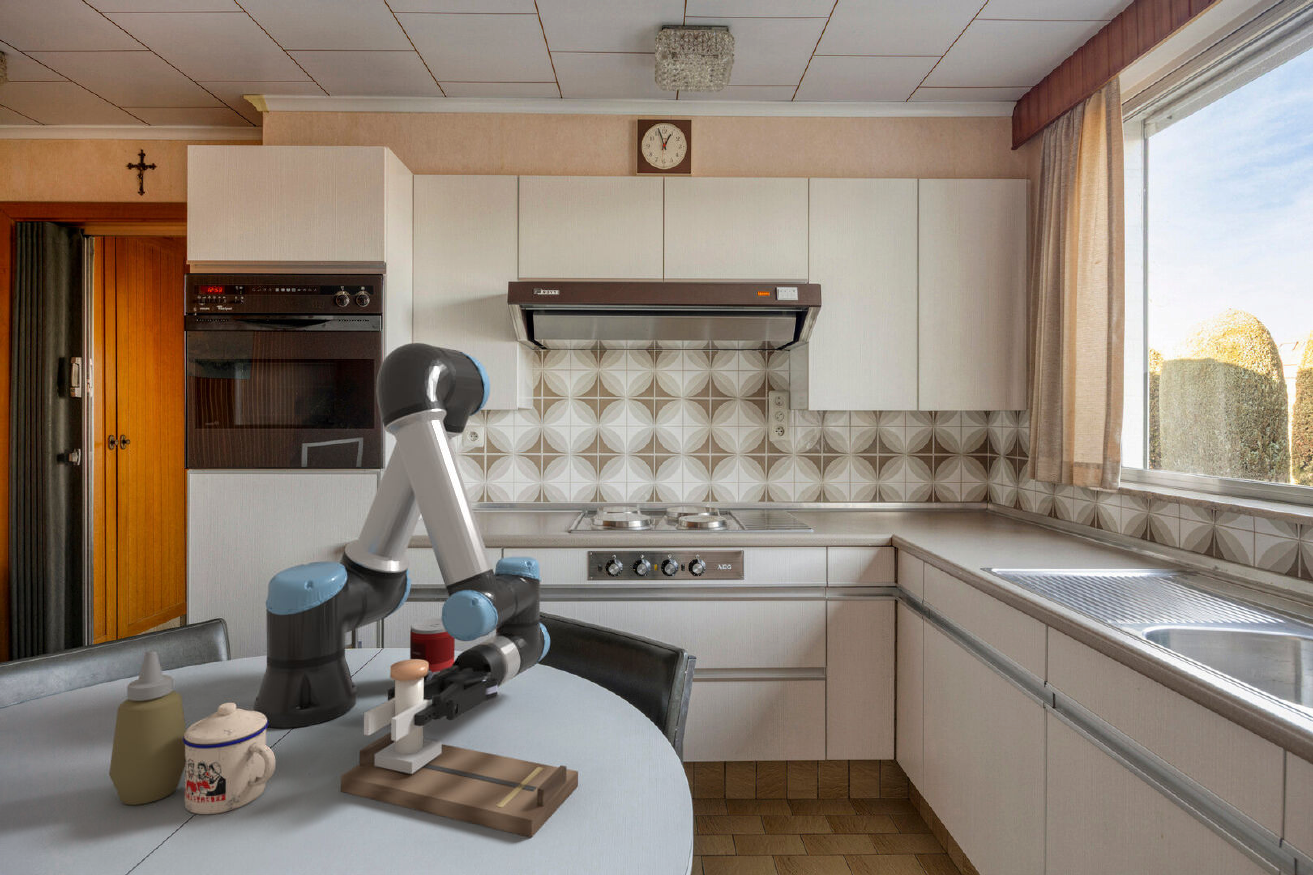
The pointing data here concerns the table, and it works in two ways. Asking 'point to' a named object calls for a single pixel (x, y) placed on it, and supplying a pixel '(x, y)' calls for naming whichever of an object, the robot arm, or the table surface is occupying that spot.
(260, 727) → the teacup with lid
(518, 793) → the fader track
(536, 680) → the table surface
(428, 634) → the canned food
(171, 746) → the squeeze bottle
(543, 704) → the table surface
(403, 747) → the fader
